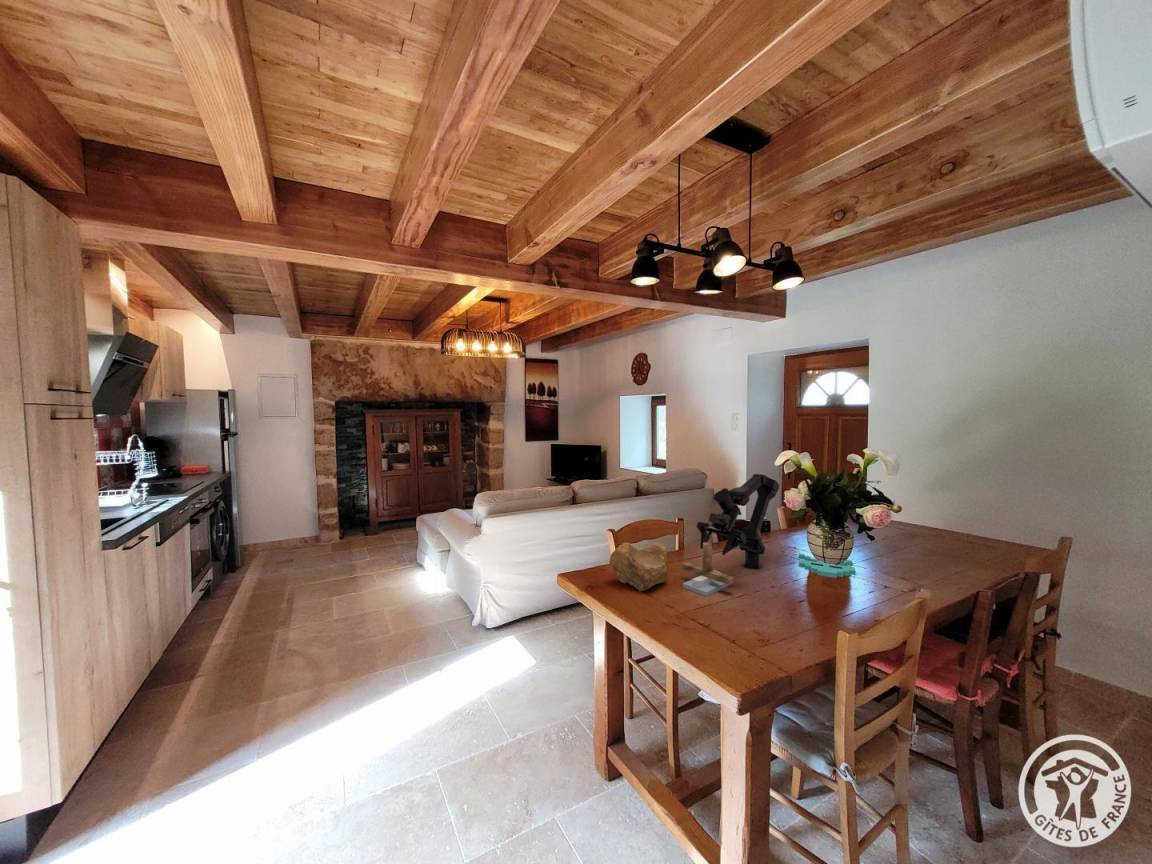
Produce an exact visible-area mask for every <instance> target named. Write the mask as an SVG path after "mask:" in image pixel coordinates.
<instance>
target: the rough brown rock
mask: <svg viewBox="0 0 1152 864" xmlns="http://www.w3.org/2000/svg"><path fill="white" fill-rule="evenodd" d="M667 553H668V550H667V547H666V545H665V544H664V543H662V542H653V543H652V544H651V545H649V546H648V547H645V548H640V547H639V548H638V547H634V546H633V545H632V544H631V543H630V542H623V543H621V545H620V546H617V547H616V548H615V549H614V551H612V553H611V554H610V557H609V569H610V570H611V571H612V572H614V573H616V574H617V577H618V580H619V581H620V582H621V583H623V584H629V586H633V587H634V588H635V589H636V590H637V591H639V592H644V591H647V590H649V589H650V588H651V587H653V586H655V585H658V584H662V583H664V582H665V581H666V579H667V575H668V572H669V565H668V554H667Z"/></svg>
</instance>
